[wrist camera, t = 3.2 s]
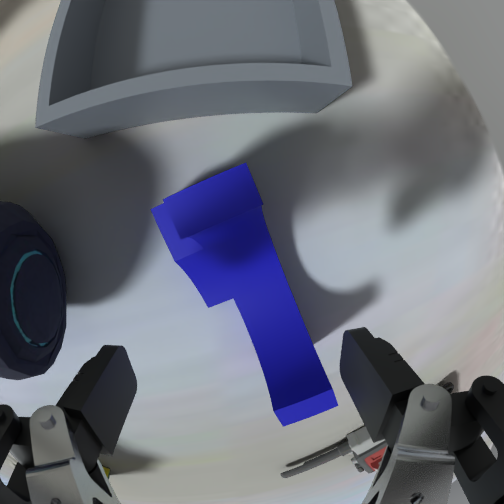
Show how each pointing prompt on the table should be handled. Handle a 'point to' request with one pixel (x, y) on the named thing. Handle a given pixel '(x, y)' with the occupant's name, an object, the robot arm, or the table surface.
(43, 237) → the portable speaker
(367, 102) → the table surface
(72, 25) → the bin
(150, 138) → the table surface
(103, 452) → the robot arm
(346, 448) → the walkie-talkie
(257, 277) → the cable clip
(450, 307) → the table surface
